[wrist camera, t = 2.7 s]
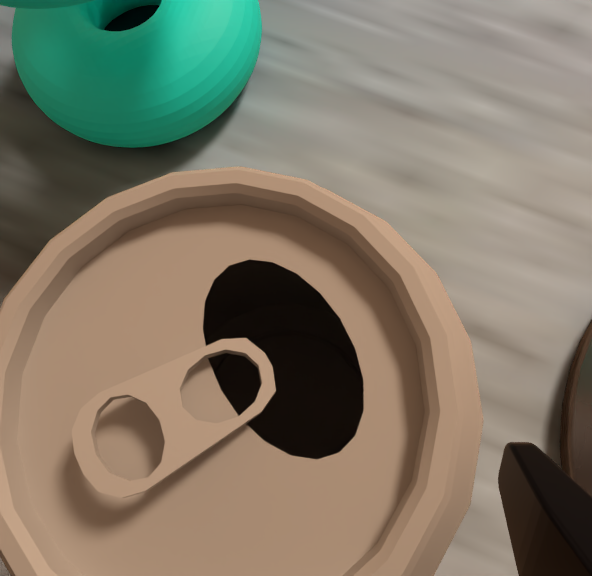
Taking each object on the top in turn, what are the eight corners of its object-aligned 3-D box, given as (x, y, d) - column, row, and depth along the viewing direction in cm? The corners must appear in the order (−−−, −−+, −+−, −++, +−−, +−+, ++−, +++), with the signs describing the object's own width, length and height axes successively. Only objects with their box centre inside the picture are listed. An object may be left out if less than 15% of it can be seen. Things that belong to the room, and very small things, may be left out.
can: (439, 455, 17) (673, 511, 5) (244, 579, 16) (41, 941, 5) (322, 272, 19) (311, 29, 7) (144, 377, 18) (-172, 290, 7)
